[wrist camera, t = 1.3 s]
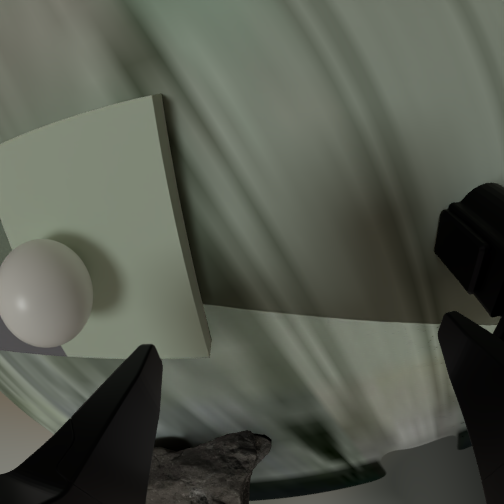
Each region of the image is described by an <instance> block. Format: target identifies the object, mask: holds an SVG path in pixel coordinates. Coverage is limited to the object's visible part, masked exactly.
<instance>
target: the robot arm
mask: <svg viewBox="0 0 504 504" xmlns="http://www.w3.org/2000/svg"><path fill="white" fill-rule="evenodd" d="M434 252H435V254H436V255H437V256H438V257H439V258H440V259H441V261H442V262H443V263H444V264H445V265H446V267H447V268H448V269H449V270H450V271H451V272H452V274H453V275H454V276H455V277H456V279H457V280H458V281H459V282H460V283H461V285H462V286H463V287H464V288H465V290H466V291H467V292H468V293H469V294H474V295H475V297H476V298H477V299H478V300H479V302H480V303H481V304H482V306H483V307H484V308H485V309H486V311H487V312H488V313H489V315H490V316H491V317H496V316H500V317H501V319H500V321H499V323H498V325H497V327H496V328H495V330H494V332H493V334H492V333H490V332H489V331H487V330H485V329H484V328H482V327H481V326H479V325H478V324H476V323H475V322H473V321H471V320H470V319H468V318H467V317H465V316H463V315H462V314H460V313H459V312H457V311H452V312H448V313H445V314H444V316H443V319H442V322H441V325H440V328H439V331H438V339H439V343H440V346H441V349H442V353H443V356H444V360H445V364H446V367H447V371H448V374H449V378H450V380H451V383H452V386H453V389H454V391H455V394H456V397H457V400H458V403H459V406H460V408H461V411H462V414H463V417H464V420H465V423H466V427H467V430H468V433H469V436H470V440H471V443H472V446H473V450H474V453H475V457H476V460H477V464H478V468H479V472H480V476H481V480H482V485H483V490H484V494H485V498H486V503H487V504H504V187H503V186H501V185H499V184H496V183H485V184H483V185H480V186H478V187H476V188H475V189H473V190H472V191H471V192H469V193H468V194H467V195H466V196H465V197H464V199H463V200H462V201H461V202H457V203H451V204H450V205H449V207H448V210H443V211H442V213H441V216H440V222H439V228H438V234H437V240H436V245H435V251H434ZM162 372H163V365H162V361H161V359H160V356H159V354H158V352H157V349H156V347H155V346H154V345H153V344H141V345H139V346H138V347H137V348H136V350H135V351H134V352H133V353H132V354H131V355H130V356H129V357H128V358H127V359H126V360H125V361H124V362H123V363H122V364H121V365H120V366H119V367H118V368H117V369H116V370H115V371H114V372H113V373H112V375H111V376H110V377H109V378H108V379H107V380H106V381H105V382H104V383H103V384H102V385H101V386H100V387H99V388H98V389H97V390H96V391H95V392H94V393H93V394H92V396H91V397H90V398H89V399H88V400H87V401H86V402H85V403H84V404H83V405H82V406H81V407H80V408H79V409H78V410H77V411H76V412H75V413H74V415H73V416H72V417H71V419H69V420H68V421H67V422H66V423H65V424H64V425H63V426H62V427H61V428H60V429H59V430H58V431H57V432H56V433H55V434H54V435H53V436H52V437H51V438H50V439H49V440H48V441H47V442H46V443H45V444H44V445H42V446H41V447H40V448H39V449H38V450H37V451H36V452H34V454H32V455H31V456H30V457H29V458H27V459H26V460H25V461H24V462H23V463H22V464H20V465H19V466H18V467H17V468H15V469H14V470H12V471H10V472H8V473H5V474H0V504H146V496H147V489H148V482H149V475H150V468H151V462H152V455H153V449H154V443H155V437H156V431H157V425H158V419H159V413H160V401H161V385H162Z"/></svg>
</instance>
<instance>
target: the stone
mask: <svg viewBox="0 0 504 504" xmlns="http://www.w3.org/2000/svg"><path fill="white" fill-rule="evenodd" d="M270 449H271V439H270V438H269V437H268V436H266V435H261V434H254V433H252V432H251V431H248V430H246V431H241V432H237V433H230V434H226V435H224V436H221V437H218V438H215V439H214V440H213V441H210V442H208V443H204V444H200V445H199V446H198V447H195V448H187V449H185V450H180V451H178V452H175V451H173V450H169V449H166V448H163V447H156V448H154V449H153V455H152V462H151V468H150V475H149V482H148V489H147V496H146V504H249V496H250V494H249V488H250V478H251V475H252V471H253V469H254V468H255V467H256V465H257V464H258V463H259V462H260V461H262V460H263V458H264V457H265V456H266V455H267V454H268V453H269V451H270Z"/></svg>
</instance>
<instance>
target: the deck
mask: <svg viewBox="0 0 504 504" xmlns="http://www.w3.org/2000/svg"><path fill="white" fill-rule="evenodd" d="M0 219H1V222H2V224H3V227H4V230H5V232H6V235H7V238H8V240H9V243H10V245H11V248H12V250H14V249H15V248H16V247H17V246H19V245H21V244H23V243H25V242H27V241H31V240H35V239H49V240H54V241H57V242H60V243H62V244H64V245H66V246H67V247H69V248H70V249H71V250H73V251H74V252H75V253H76V254H77V255H78V256H79V257H80V259H81V260H82V261H83V263H84V264H85V266H86V268H87V270H88V272H89V275H90V278H91V281H92V287H93V305H92V309H91V314H90V316H89V318H88V321H87V323H86V325H85V326H84V328H83V329H82V330H81V332H80V333H79V334H78V335H77V336H76V337H75V338H73V339H72V340H70V341H69V342H67V343H65V344H63V345H60V346H57V347H51V348H42V347H36V346H32V345H30V344H27V343H25V342H23V341H21V340H20V339H18V338H17V337H16V336H15V335H14V334H13V333H12V332H11V331H10V330H9V329H8V328H7V326H6V325H5V323H4V322H3V320H2V318H1V316H0V350H5V351H13V352H22V353H31V354H42V355H54V356H69V357H86V358H112V359H127V358H128V357H129V356H130V355H131V354H132V353H133V352H134V351H135V350H136V348H137V347H138V346H139V345H141V344H153V345H154V346H155V347H156V349H157V352H158V354H159V356H160V359H184V358H210V350H211V341H212V339H211V335H210V331H209V327H208V323H207V319H206V315H205V311H204V307H203V303H202V299H201V295H200V291H199V287H198V282H197V278H196V274H195V269H194V265H193V261H192V256H191V252H190V247H189V242H188V238H187V233H186V228H185V223H184V219H183V214H182V209H181V204H180V199H179V194H178V188H177V183H176V178H175V172H174V167H173V161H172V156H171V150H170V144H169V138H168V132H167V126H166V120H165V114H164V107H163V101H162V94H156V95H151V96H146V97H142V98H137V99H133V100H129V101H125V102H121V103H117V104H113V105H110V106H106V107H102V108H99V109H95V110H92V111H88V112H85V113H82V114H79V115H75V116H72V117H69V118H66V119H63V120H60V121H57V122H54V123H52V124H49V125H46V126H43V127H41V128H38V129H35V130H33V131H30V132H27V133H25V134H22V135H20V136H18V137H15V138H13V139H10V140H8V141H6V142H3V143H1V144H0Z"/></svg>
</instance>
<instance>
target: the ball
mask: <svg viewBox="0 0 504 504" xmlns="http://www.w3.org/2000/svg"><path fill="white" fill-rule="evenodd" d="M92 305H93V287H92V281H91V278H90V275H89V272H88V270H87V268H86V266H85V264H84V263H83V261H82V260H81V259H80V257H79V256H78V255H77V254H76V253H75V252H74V251H73V250H71V249H70V248H69V247H67V246H66V245H64V244H62V243H60V242H57V241H54V240H49V239H35V240H31V241H27V242H25V243H23V244H21V245H19V246H17V247H16V248H15V249H14V250H12V251H11V252H10V253H9V254H8V256H7V257H6V258H5V259H4V261H3V263H2V265H1V267H0V316H1V318H2V320H3V322H4V323H5V325H6V326H7V328H8V329H9V330H10V331H11V332H12V333H13V334H14V335H15V336H16V337H17V338H18V339H20V340H21V341H23V342H25V343H27V344H30V345H32V346H36V347H42V348H51V347H57V346H60V345H63V344H65V343H67V342H69V341H70V340H72V339H73V338H75V337H76V336H77V335H78V334H79V333H80V332H81V330H82V329H83V328H84V326H85V325H86V323H87V321H88V318H89V316H90V314H91V309H92Z"/></svg>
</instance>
